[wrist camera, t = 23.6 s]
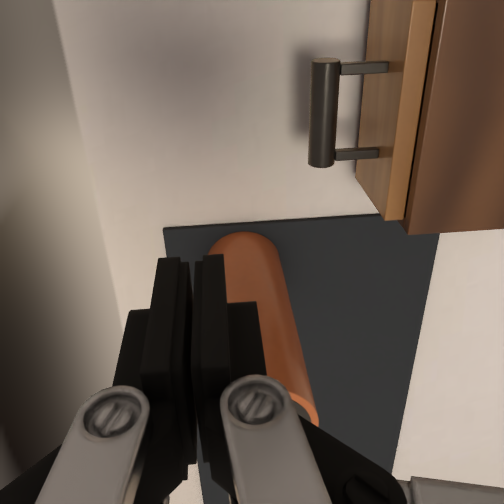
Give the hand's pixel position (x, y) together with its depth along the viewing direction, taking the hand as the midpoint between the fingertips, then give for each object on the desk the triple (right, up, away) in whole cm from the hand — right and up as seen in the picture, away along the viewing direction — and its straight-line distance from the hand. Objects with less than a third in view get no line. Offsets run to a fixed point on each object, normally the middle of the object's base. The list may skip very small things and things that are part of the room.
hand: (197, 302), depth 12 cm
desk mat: (+6, -13, +35) cm, 38 cm away
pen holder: (+1, 0, +26) cm, 26 cm away
